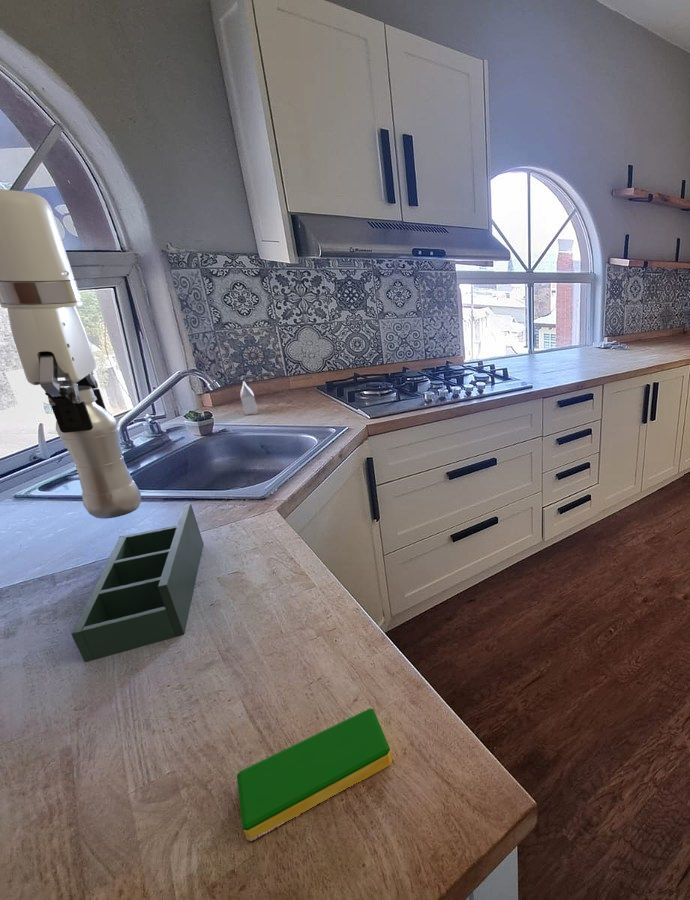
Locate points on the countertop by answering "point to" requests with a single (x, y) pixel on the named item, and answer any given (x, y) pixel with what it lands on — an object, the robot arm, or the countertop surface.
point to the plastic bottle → (101, 463)
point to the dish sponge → (311, 772)
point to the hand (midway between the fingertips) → (85, 422)
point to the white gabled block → (248, 400)
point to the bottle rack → (142, 590)
